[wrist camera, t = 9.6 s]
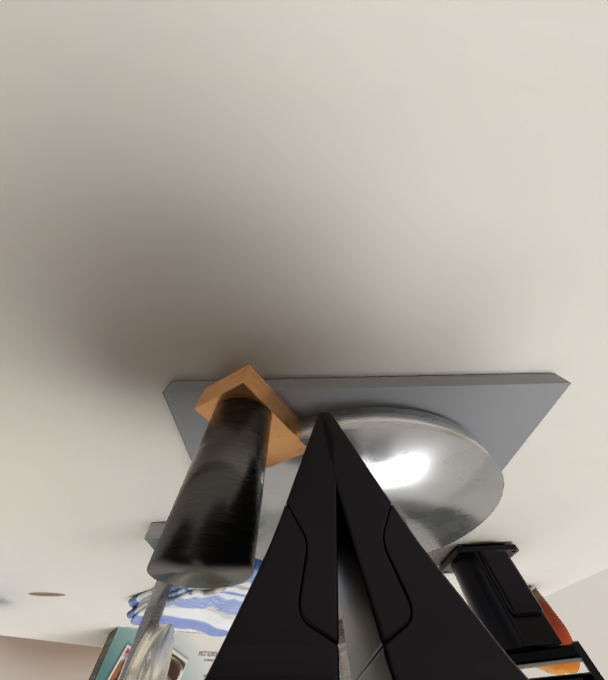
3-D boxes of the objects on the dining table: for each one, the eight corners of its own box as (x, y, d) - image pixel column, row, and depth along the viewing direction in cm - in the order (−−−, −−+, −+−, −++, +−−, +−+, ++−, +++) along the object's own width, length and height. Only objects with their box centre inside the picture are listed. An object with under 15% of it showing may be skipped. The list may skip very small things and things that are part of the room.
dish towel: (130, 590, 28) (114, 626, 25) (260, 534, 21) (255, 575, 19) (232, 612, 35) (227, 641, 32) (355, 575, 28) (360, 609, 26)
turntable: (503, 512, 17) (589, 634, 12) (307, 565, 21) (311, 672, 16) (429, 264, 7) (710, 356, 2) (95, 449, 11) (-58, 625, 6)
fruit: (573, 594, 29) (609, 694, 25) (511, 569, 36) (532, 644, 32) (525, 593, 28) (556, 697, 24) (471, 567, 35) (487, 645, 31)
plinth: (438, 534, 21) (444, 548, 20) (233, 544, 21) (231, 558, 20) (554, 373, 11) (575, 385, 11) (171, 381, 11) (160, 395, 10)
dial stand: (210, 540, 20) (155, 747, 12) (166, 542, 20) (82, 753, 12) (200, 520, 18) (127, 752, 10) (151, 522, 18) (39, 759, 10)
